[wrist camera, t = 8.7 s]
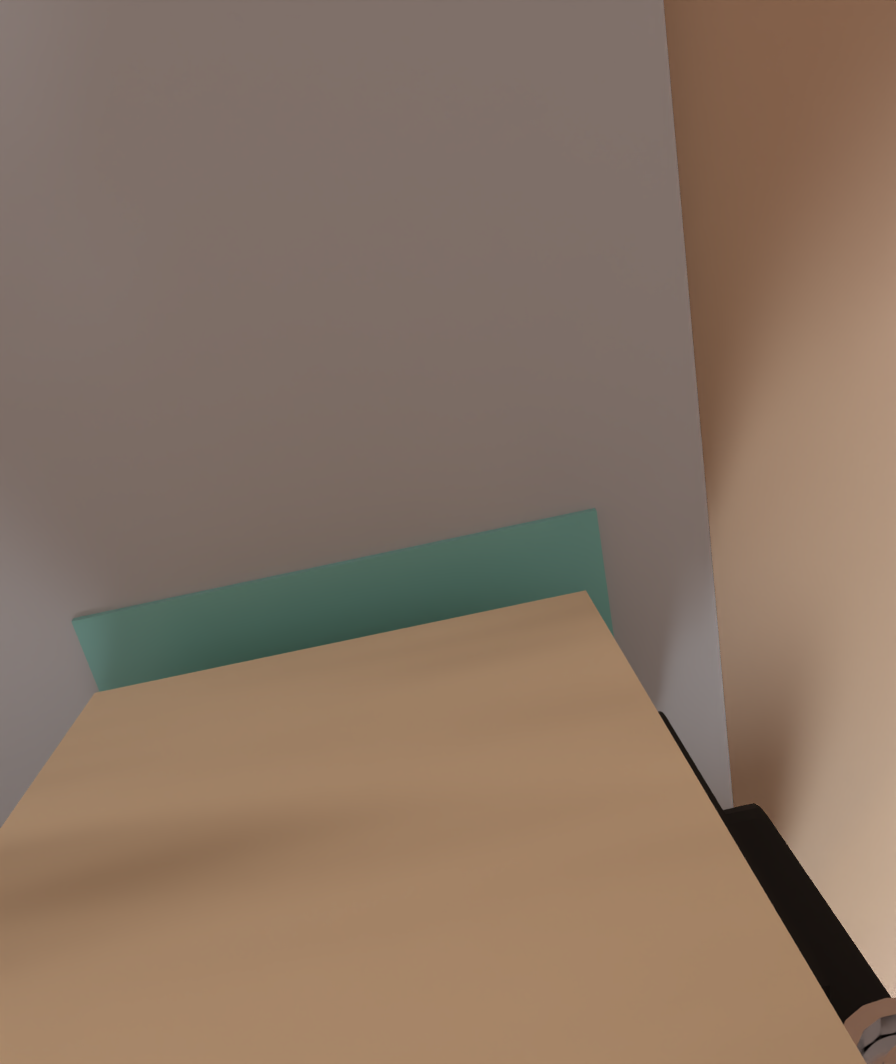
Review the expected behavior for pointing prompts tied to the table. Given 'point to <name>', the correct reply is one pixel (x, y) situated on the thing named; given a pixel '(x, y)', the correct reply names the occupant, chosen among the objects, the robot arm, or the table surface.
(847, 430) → the table surface
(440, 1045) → the birch block
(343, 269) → the arena
